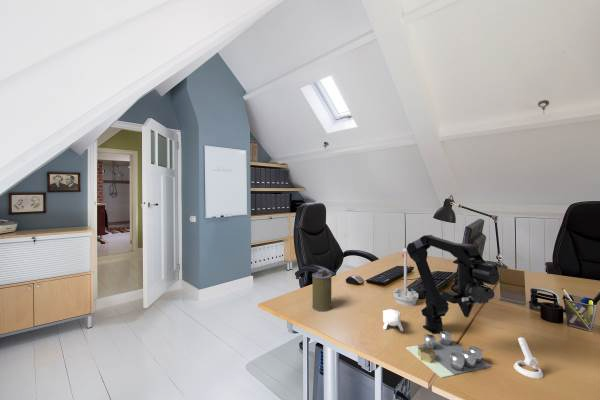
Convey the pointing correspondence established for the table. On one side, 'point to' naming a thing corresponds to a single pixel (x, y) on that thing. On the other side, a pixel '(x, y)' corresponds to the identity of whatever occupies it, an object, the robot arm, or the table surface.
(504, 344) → the table surface
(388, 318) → the white footed lump
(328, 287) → the canister
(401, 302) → the flag stand
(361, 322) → the table surface
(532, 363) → the white vr controller
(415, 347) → the mat
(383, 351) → the table surface
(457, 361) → the spacers
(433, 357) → the faceted tan block
